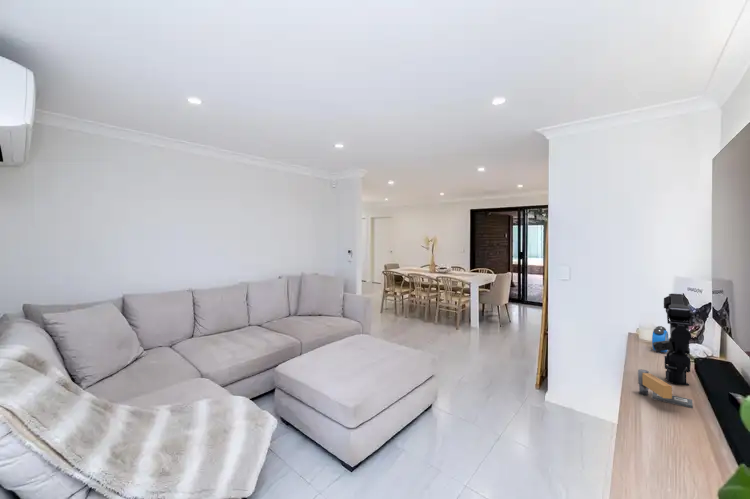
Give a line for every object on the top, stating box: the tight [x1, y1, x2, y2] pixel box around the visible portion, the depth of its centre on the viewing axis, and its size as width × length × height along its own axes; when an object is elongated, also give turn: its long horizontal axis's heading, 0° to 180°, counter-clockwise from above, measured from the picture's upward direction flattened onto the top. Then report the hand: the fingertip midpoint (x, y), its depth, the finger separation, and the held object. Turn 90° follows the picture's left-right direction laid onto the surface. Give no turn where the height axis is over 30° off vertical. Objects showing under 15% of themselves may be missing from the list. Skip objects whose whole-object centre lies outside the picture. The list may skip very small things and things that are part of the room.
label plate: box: [651, 391, 694, 409], centre depth 137 cm, size 12×7×1 cm, turn 46°
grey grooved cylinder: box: [638, 384, 649, 396], centre depth 144 cm, size 3×3×4 cm
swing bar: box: [637, 368, 673, 399], centre depth 137 cm, size 17×4×6 cm, turn 170°
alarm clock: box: [651, 325, 669, 353], centre depth 199 cm, size 13×6×15 cm, turn 131°
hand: (680, 373), depth 135 cm, fingers closed
